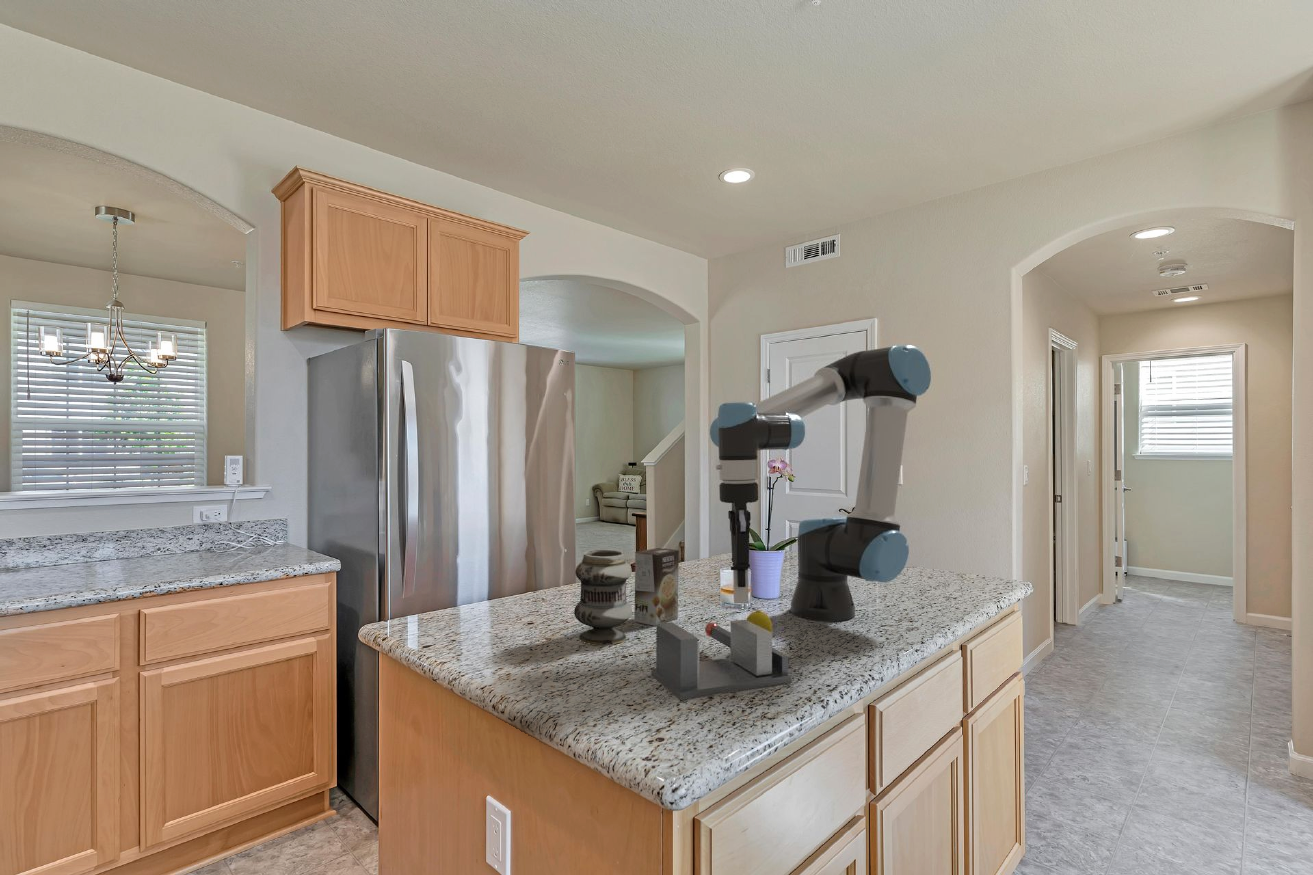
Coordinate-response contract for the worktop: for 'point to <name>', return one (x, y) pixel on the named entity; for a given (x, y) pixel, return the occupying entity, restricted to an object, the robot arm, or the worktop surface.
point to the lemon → (760, 620)
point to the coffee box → (656, 586)
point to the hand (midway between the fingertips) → (741, 602)
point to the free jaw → (746, 645)
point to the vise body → (705, 667)
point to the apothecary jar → (603, 596)
